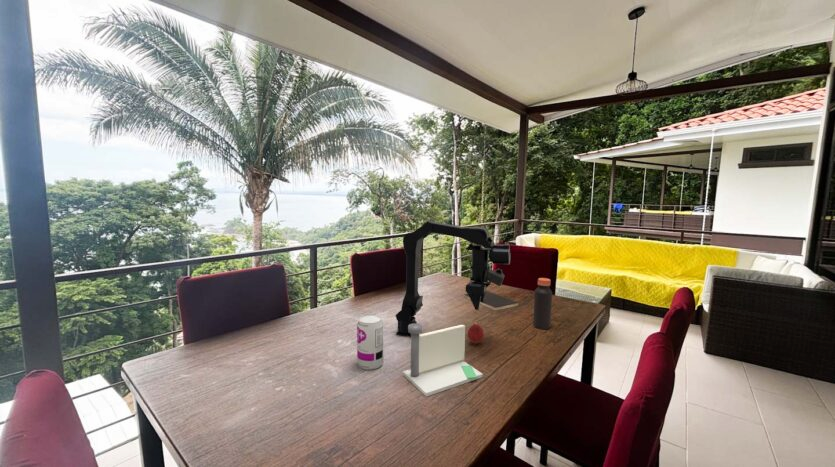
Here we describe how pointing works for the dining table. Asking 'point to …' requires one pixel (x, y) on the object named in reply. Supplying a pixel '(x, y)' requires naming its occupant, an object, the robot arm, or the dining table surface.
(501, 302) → the hardcover book
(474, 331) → the onion
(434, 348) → the hinged door panel
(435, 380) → the white base board
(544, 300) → the bottle
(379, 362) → the supplement can
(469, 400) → the dining table surface
